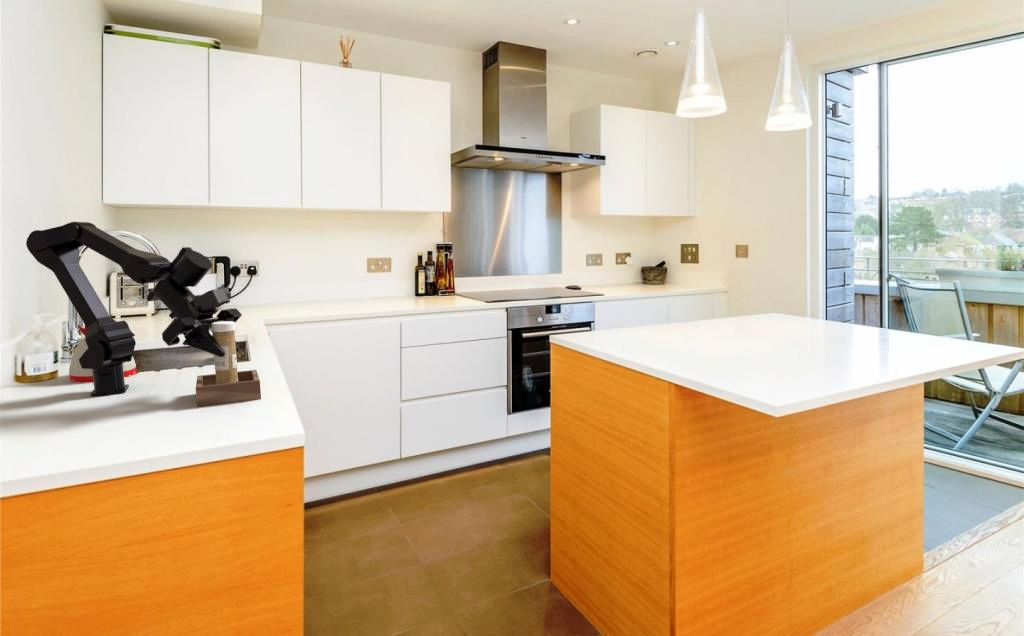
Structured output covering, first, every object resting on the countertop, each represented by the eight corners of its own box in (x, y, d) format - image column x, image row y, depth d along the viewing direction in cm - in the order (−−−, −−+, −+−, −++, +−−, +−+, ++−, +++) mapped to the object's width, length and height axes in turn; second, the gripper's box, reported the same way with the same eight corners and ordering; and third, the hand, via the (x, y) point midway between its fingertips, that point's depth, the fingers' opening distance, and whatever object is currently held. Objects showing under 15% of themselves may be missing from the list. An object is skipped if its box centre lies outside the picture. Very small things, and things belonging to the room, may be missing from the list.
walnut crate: (198, 393, 128) (197, 375, 127) (257, 386, 133) (256, 369, 133) (197, 406, 117) (195, 387, 117) (261, 398, 123) (259, 380, 122)
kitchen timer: (75, 374, 149) (68, 317, 147) (138, 368, 155) (132, 313, 153) (65, 385, 137) (58, 323, 135) (134, 378, 143) (128, 319, 141)
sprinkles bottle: (243, 382, 126) (239, 321, 124) (224, 386, 122) (220, 323, 120) (229, 380, 128) (225, 320, 126) (210, 384, 124) (206, 322, 122)
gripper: (170, 278, 113) (224, 335, 113) (231, 273, 131) (278, 321, 131) (138, 317, 116) (191, 372, 115) (203, 306, 134) (249, 354, 133)
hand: (230, 353), depth 124 cm, fingers closed on sprinkles bottle, 4 cm apart
